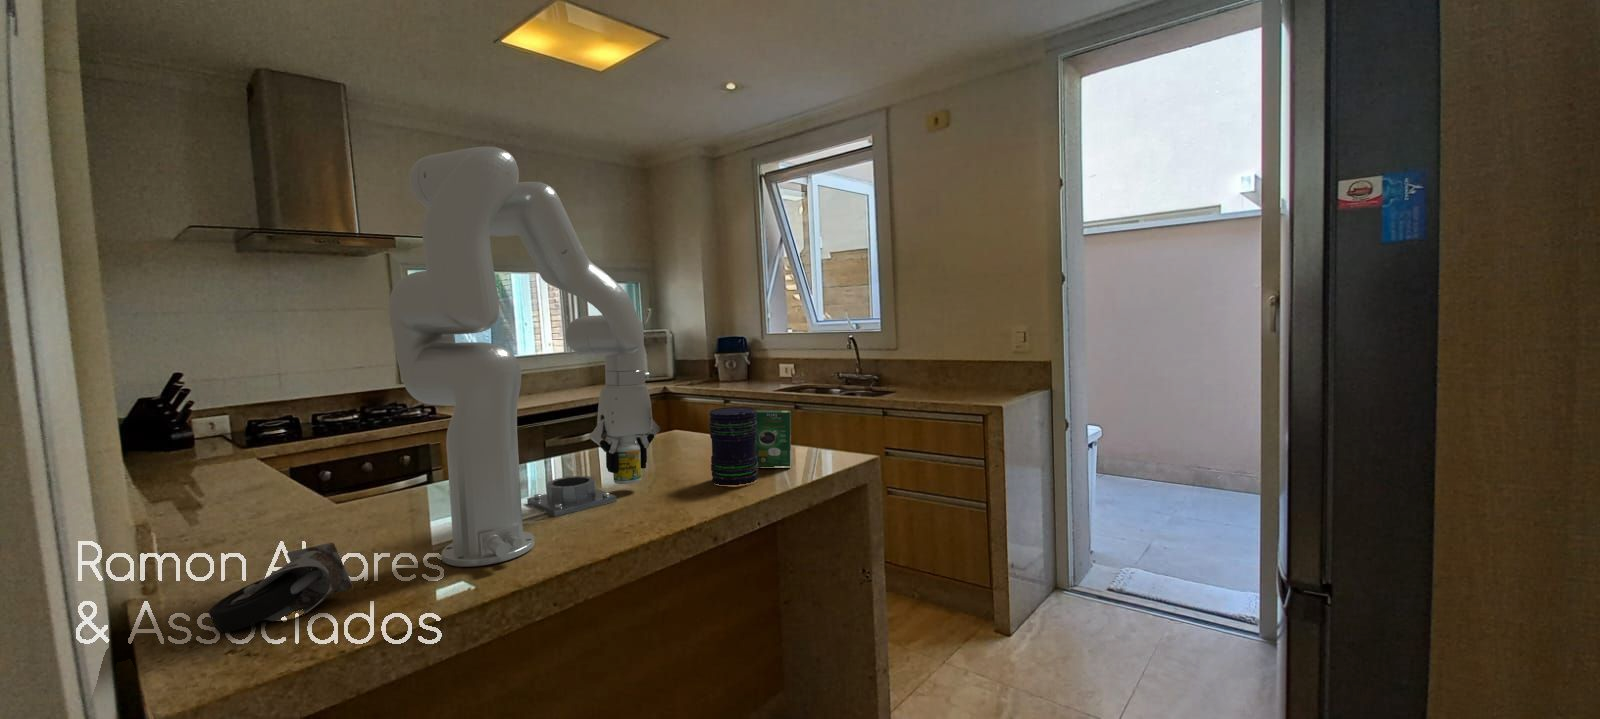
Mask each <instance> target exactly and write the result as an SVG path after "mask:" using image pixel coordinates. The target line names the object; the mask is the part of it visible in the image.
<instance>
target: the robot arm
mask: <svg viewBox="0 0 1600 719" xmlns="http://www.w3.org/2000/svg"><path fill="white" fill-rule="evenodd" d="M519 177H520V173H519V166H518V164H517V161H516V159H515V158H514V156H513V155H512V154H511V153H509V152H508V151H507V150H505V149H502V148H500V147H496V146H478V147H477V146H476V147H468V148H463V149H457V150H452V151H447V152H440V153H435V154H430V155H427V156H423V157H421V158H420V159H418V160H417V161H416V162H415V163H413V165H412V166H411V168H410V170H409V173H408V183H409V188H410V190H411V193H412V195H413V196H414V198H415V199H416V200H417V201H418V202H419V203H420V204H421V205H422V206H423V207H425V208H426V212H425V214H424V218H423V223H422V243H423V251H424V252H423V253H424V260H425V262H424V263H425V270H422V271H416V272H412V273H409V274H407V275H405V276H403V277H402V278H400V279H398V281H397V282H396V284H395V285H394V286H393V288H392V290H391V292H390V295H389V301H388V318H389V322H390V328H391V334H392V339H393V345H394V349H395V353H396V359H397V365H398V368H399V369H398V370H399V373H400V378H401V381H402V383H403V386H404V388H405V390H406V391H407V393H409V395H410V396H411V397H412V398H413V399H414V400H416V401H418V402H420V403H423V404H425V405H431V406H445V407H446V406H448V407H454V410H453V413H452V416H451V418H450V421H449V424H448V428H447V431H446V441H445V445H446V446H445V447H446V456H447V470H448V474H447V475H448V487H449V489H448V490H449V499H450V501H449V504H450V514H451V515H450V516H451V529H452V542H451V543H449V544H448V545H446V546H445V547H444V548H443V549H442V551H441V560H442V562H444V563H445V564H447V565H450V566H451V567H452V566H453V567H465V568H467V567H469V568H470V567H481V566H488V565H489V566H490V565H492V564H494V565H495V564H498V563H502V562H507V561H509V560H513V559H515V558H518V557H520V556H522V555H524V554H526V553H528V552H529V551H530V550H531V549H533V547H534V546H535V536H534V535H533V534H532V533H530V532H529V531H525V530H524V528H523V512H522V511H523V510H522V509H523V508H522V492H521V491H522V490H521V477H520V460H519V443H518V405H519V396H520V391H521V385H522V384H521V383H522V369H521V366H520V362H519V361H518V358H517V357H516V356H515V354H513V352H511V350H509V349H508V348H506V347H505V346H502V345H499V344H496V343H491V342H483V341H482V342H478V341H477V342H473V341H471V342H463V341H462V342H456V335H468V334H478V333H479V334H480V333H482V332H486V331H487V330H490V329H491V328H493V327H494V326H495V324H496V323H497V322H498V320H499V316H500V301H499V300H500V299H499V292H498V287H497V286H498V285H497V282H496V281H497V280H496V274H495V268H494V262H493V255H492V248H491V236H492V237H497V238H498V237H499V238H504V237H513V236H518V237H519V238H520V241H521V242H522V243H523V245H524V248H525V250H526V251H527V253H528V254H529V256H530V258H531V261H532V263H533V264H534V266H535V268H536V270H537V272H538V274H539V276H540V278H541V279H542V280H543V281H544V282H545V283H546V284H548V285H549V286H552V287H554V288H555V289H558V290H561V291H562V292H565V293H568V294H570V295H573V296H576V297H577V298H579V299H582V300H584V301H585V302H587V303H589V304H590V305H592V306H593V307H594V308H595V309H596V310H598V312H599V313H600V314H601V315H600V314H599V315H584V316H580V317H577V318H575V319H573V320H572V321H571V322H569V324H568V325H567V327H566V330H565V337H564V338H565V341H566V343H567V346H568V347H569V349H571V350H572V351H573V352H574V353H576V354H579V355H581V356H593V357H594V356H604V368H605V372H604V373H605V386H604V387H601V388H600V392H599V398H598V407H597V421H596V426H595V428H594V429H593V431H592V432H591V434H590V435H589V439H590V440H591V441H593V442H594V443H595V444H597V445H598V447H600V449H602V450H603V452H605V462H606V463H605V465H606V470H607V472H609V473H612V474H613V473H618V472H619V464H618V453H616V447H617V443H618V440H619V438H622V437H626V436H630V435H635V436H636V438H637V439H636V441H635V443H637V444H639V446H640V456H641V470H643V469H646V468H647V462H648V456H647V455H648V452H647V450H648V448H649V447H650V444H651V443H652V442H653V440H654V438H655V437H656V436H657V434H658V433H659V432H660V431H661V427H660V426H659V425H658V423H657V422H656V421H655V420H654V419H653V413H652V412H653V411H652V402H651V396H650V392H649V388H648V385H647V384H646V380H649V379H650V376H651V375H650V373H649V372H646V370H645V343H644V341H645V340H644V338H645V336H644V334H645V333H644V323H643V321H642V320H641V319H640V318H639V314H638V313H637V310H636V308H635V306H634V303H633V301H632V299H631V298H630V296H629V295H628V293H627V292H626V291H625V289H624V288H623V287H622V286H621V285H620V284H619V283H618V282H616V280H614V279H613V278H612V277H611V276H610V275H609V274H607V273H606V272H605V271H604V270H603V269H601V268H600V267H598V266H597V265H596V264H594V263H593V262H592V261H591V260H590V259H589V257H588V256H587V253H586V252H585V250H584V247H583V245H582V243H581V241H580V239H579V236H578V235H577V232H576V230H575V229H574V227H573V224H572V222H571V220H570V216H568V213H567V211H566V209H565V207H564V205H563V203H562V201H561V199H560V197H559V196H558V194H557V192H556V191H555V189H554V188H553V187H551V186H550V185H549V184H546V183H544V182H540V181H521V182H519V180H520V178H519ZM645 384H646V385H645ZM602 437H605V439H603V438H602Z"/></svg>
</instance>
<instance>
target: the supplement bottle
mask: <svg viewBox="0 0 1600 719" xmlns="http://www.w3.org/2000/svg"><path fill="white" fill-rule="evenodd" d="M636 439H637V438H636V436H635V435H630V436H626V437H622V438H619V440H618V443H617V447H616V453H618V464H619V472H618V473H612V474H613V475H612V476H613V482H614V484H616V485H617V484H618V485H632V484H637V483H640V481H641V480H642V468H641V456H640V446H639V444H637V443H636Z"/></svg>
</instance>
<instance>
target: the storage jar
mask: <svg viewBox="0 0 1600 719" xmlns="http://www.w3.org/2000/svg"><path fill="white" fill-rule="evenodd" d="M756 411H757V409H756V408H754V407H746V406H744V407H743V406H732V407H720V408H714V409H711V410H709V417H710V418H709V436H710V437H709V438H710V439H711V457H710V462H711V464H710V470H711V471H710V472H711V476H712V478H711V483H712V482H713V483H715V484H719V485H739V484H746V483H751V482H754V481H755V480H757V479H758V480H759V476H758V473H759V469H758V462H757V461H758V456H757V454H756V436H757V429H756V428H757V422H756Z"/></svg>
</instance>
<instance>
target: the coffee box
mask: <svg viewBox="0 0 1600 719" xmlns="http://www.w3.org/2000/svg"><path fill="white" fill-rule="evenodd" d="M791 412H792V410H764V409H762V410H760V409H759V410H757V409H756V414H755V416H756V422H757V428H756V429H757V436H756V454H757V456H758V461H757V462H758V467H774V466H790V465H791V466H792V446H791V445H792V444H791V443H792V435H791V434H792V428H791V427H792V413H791Z"/></svg>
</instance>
